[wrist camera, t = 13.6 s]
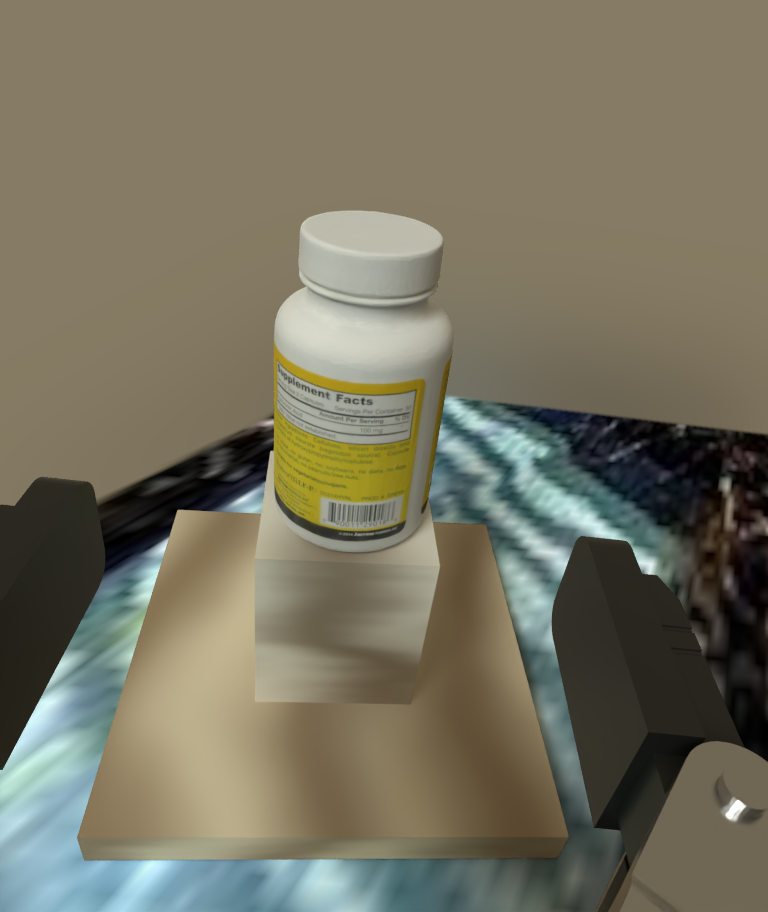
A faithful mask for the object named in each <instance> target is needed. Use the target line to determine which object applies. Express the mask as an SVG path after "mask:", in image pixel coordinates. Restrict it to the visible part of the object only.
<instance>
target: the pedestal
mask: <svg viewBox="0 0 768 912" xmlns="http://www.w3.org/2000/svg"><path fill="white" fill-rule="evenodd" d="M568 838H569V835H568V832H567V828H566V824H565V820H564V816H563V813H562V809H561V805H560V801H559V798H558V794H557V790H556V786H555V783H554V779H553V775H552V771H551V768H550V764H549V760H548V756H547V753H546V749H545V745H544V741H543V737H542V734H541V730H540V726H539V722H538V719H537V715H536V711H535V707H534V704H533V700H532V696H531V692H530V689H529V685H528V681H527V677H526V674H525V670H524V666H523V662H522V658H521V655H520V651H519V647H518V643H517V640H516V636H515V632H514V628H513V625H512V621H511V617H510V613H509V610H508V606H507V602H506V598H505V595H504V591H503V587H502V583H501V579H500V576H499V572H498V568H497V564H496V561H495V557H494V553H493V549H492V546H491V542H490V538H489V534H488V531H487V527H486V525H481V524H460V523H440V522H433V521H432V515H431V509H430V503H429V498H428V501H427V506H426V510H425V514H424V517H423V519H422V521H421V523H420V524H419V526H418V527H417V528H416V530H415V531H414V532H413V533H412V534H411V535H410V536H408V537H407V538H405V539H404V540H402V541H401V542H399V543H397V544H395V545H392V546H390V547H387V548H384V549H381V550H376V551H371V552H341V551H334V550H330V549H326V548H323V547H320V546H317V545H315V544H312V543H310V542H308V541H306V540H305V539H303V538H301V537H300V536H298V535H297V534H295V533H294V532H293V531H292V530H291V529H290V528H289V527H288V526H287V525H286V524H285V523H284V521H283V520H282V518H281V517H280V515H279V513H278V510H277V507H276V503H275V490H274V451H271V452H270V459H269V466H268V472H267V479H266V486H265V492H264V499H263V506H262V513H261V514H252V513H231V512H210V511H189V510H178V511H177V514H176V518H175V521H174V524H173V527H172V531H171V534H170V537H169V540H168V544H167V547H166V550H165V553H164V557H163V560H162V563H161V566H160V570H159V573H158V576H157V579H156V583H155V586H154V589H153V592H152V596H151V599H150V602H149V605H148V609H147V612H146V615H145V618H144V622H143V625H142V628H141V632H140V635H139V638H138V641H137V645H136V648H135V651H134V654H133V658H132V661H131V664H130V667H129V671H128V674H127V677H126V680H125V684H124V687H123V690H122V693H121V697H120V700H119V703H118V706H117V710H116V713H115V716H114V719H113V723H112V726H111V729H110V732H109V736H108V739H107V742H106V745H105V749H104V752H103V755H102V758H101V762H100V765H99V768H98V771H97V775H96V778H95V781H94V785H93V788H92V791H91V794H90V798H89V801H88V804H87V807H86V811H85V814H84V817H83V820H82V824H81V827H80V830H79V833H78V837H77V839H78V842H79V845H80V849H81V852H82V855H83V858H84V860H259V859H460V858H558V857H559V855H560V853H561V851H562V849H563V847H564V845H565V843H566V842H567V840H568Z"/></svg>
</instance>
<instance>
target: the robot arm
mask: <svg viewBox="0 0 768 912" xmlns="http://www.w3.org/2000/svg"><path fill="white" fill-rule="evenodd" d="M104 565H105V549H104V543H103V537H102V532H101V526H100V520H99V514H98V509H97V503H96V497H95V492H94V489H93V486H92V485H91V484H90V483H89V482H85V481H75V480H67V479H57V478H48V477H40V478H38V479H36V480H35V481H34V482H33V483H32V484H31V486H30V487H29V488H28V489H27V491H26V492H25V493H24V495H23V496H22V497H21V499H20V500H19V501H18V502H17V504H16V505H15V506H9V505H0V770H3V768H4V766H5V764H6V762H7V760H8V758H9V757H10V755H11V753H12V751H13V749H14V747H15V745H16V743H17V741H18V740H19V738H20V736H21V734H22V732H23V730H24V728H25V726H26V724H27V722H28V721H29V719H30V717H31V715H32V713H33V711H34V709H35V707H36V705H37V703H38V702H39V700H40V698H41V696H42V694H43V692H44V690H45V688H46V686H47V685H48V683H49V681H50V679H51V677H52V675H53V673H54V671H55V669H56V667H57V666H58V664H59V662H60V660H61V658H62V656H63V654H64V652H65V650H66V649H67V647H68V645H69V643H70V641H71V639H72V637H73V635H74V633H75V631H76V630H77V628H78V626H79V624H80V622H81V620H82V618H83V616H84V614H85V612H86V611H87V609H88V607H89V605H90V603H91V601H92V599H93V597H94V595H95V594H96V592H97V590H98V588H99V585H100V583H101V579H102V576H103V571H104ZM691 629H692V627H691V625H690V623H689V620H688V618H687V616H686V613H685V611H684V609H683V607H682V604H681V602H680V600H679V599H678V598H677V597H676V596H675V595H674V594H673V592H672V591H671V590H670V589H669V588H668V587H667V586H666V585H665V584H664V583H663V581H662V580H661V579H660V578H659V577H658V576H657V575H648V574H642V573H641V570H640V568H639V565H638V563H637V560H636V557H635V555H634V552H633V550H632V548H631V546H630V544H629V543H628V542H627V541H622V540H613V539H604V538H594V537H585V536H581V537H579V538H578V539H577V541H576V543H575V545H574V548H573V550H572V553H571V556H570V559H569V561H568V564H567V567H566V570H565V572H564V575H563V578H562V581H561V583H560V586H559V589H558V592H557V594H556V597H555V600H554V605H553V611H552V635H553V640H554V645H555V649H556V654H557V658H558V663H559V668H560V672H561V677H562V682H563V686H564V691H565V696H566V700H567V705H568V709H569V714H570V719H571V723H572V728H573V733H574V737H575V742H576V746H577V751H578V756H579V760H580V765H581V770H582V774H583V779H584V784H585V788H586V793H587V797H588V802H589V807H590V811H591V816H592V821H593V825H594V828H602V829H613V830H620V831H621V835H622V839H623V843H624V847H625V851H626V852H625V854H624V855H623V857H622V858H621V860H620V862H619V864H618V866H617V868H616V870H615V872H614V874H613V876H612V878H611V880H610V882H609V884H608V886H607V888H606V890H605V892H604V894H603V896H602V898H601V900H600V902H599V904H598V906H597V908H596V910H595V912H768V762H767V761H765V760H764V759H763V758H761V757H760V756H758V755H757V754H755V753H753V752H751V751H749V750H748V749H745V747H744V745H743V743H742V741H741V739H740V737H739V735H738V732H737V730H736V728H735V725H734V723H733V721H732V719H731V716H730V714H729V712H728V709H727V707H726V705H725V703H724V700H723V698H722V696H721V693H720V691H719V689H718V687H717V684H716V682H715V680H714V677H713V675H712V673H711V671H710V668H709V666H708V664H707V661H706V659H705V657H704V656H702V655H701V651H702V650H701V648H700V645H699V643H698V641H697V639H696V636H695V634H694V633H692V632H691Z"/></svg>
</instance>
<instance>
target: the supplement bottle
mask: <svg viewBox="0 0 768 912" xmlns="http://www.w3.org/2000/svg"><path fill="white" fill-rule="evenodd" d="M443 245H444V244H443V238H442V235H441V234H440V233H439V232H438V231H437V230H436V229H434V228H432V227H431V226H429V225H427V224H425V223H423V222H420V221H418V220H415V219H411V218H408V217H403V216H398V215H393V214H387V213H381V212H372V211H337V212H327V213H322V214H318V215H315V216H312V217H310V218H308V219H307V220H305V221H304V222H303V224H302V225H301V229H300V248H299V249H300V250H299V262H298V263H299V269H300V272H299V276H300V279H301V280H302V282H303V283H304V284H305V285H306V286H307V287H304V288H302V289H300V290H298V291H297V292H295V293H294V294H292V295H291V296H290V297H289V298H288V299H287V300H286V301H285V302H284V303H283V305H282V306H281V307H280V309H279V311H278V313H277V317H276V320H275V332H274V490H275V503H276V507H277V510H278V513H279V515H280V517H281V518H282V520H283V521H284V523H285V524H286V525H287V526H288V527H289V528H290V529H291V530H292V531H293V532H294V533H295V534H297V535H298V536H300V537H301V538H303V539H305V540H306V541H308V542H310V543H312V544H315V545H317V546H320V547H323V548H326V549H330V550H334V551H341V552H371V551H376V550H381V549H384V548H387V547H390V546H392V545H395V544H397V543H399V542H401V541H402V540H404V539H405V538H407V537H408V536H410V535H411V534H412V533H413V532H414V531H415V530H416V528H417V527H418V526H419V524H420V523H421V521H422V519H423V517H424V514H425V510H426V506H427V501H428V496H429V491H430V486H431V479H432V472H433V466H434V460H435V454H436V448H437V442H438V436H439V430H440V425H441V418H442V412H443V406H444V399H445V393H446V387H447V381H448V376H449V369H450V363H451V358H452V349H453V329H452V325H451V322H450V320H449V318H448V316H447V315H446V313H445V312H444V311H443V309H442V308H441V307H440V306H439V305H437V304H436V303H435V302H434V301H432V300H431V299H429V297H430V296H431V295H433V294H434V293H435V291H436V289H437V287H438V280H439V277H440V268H441V261H442V253H443Z"/></svg>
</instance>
